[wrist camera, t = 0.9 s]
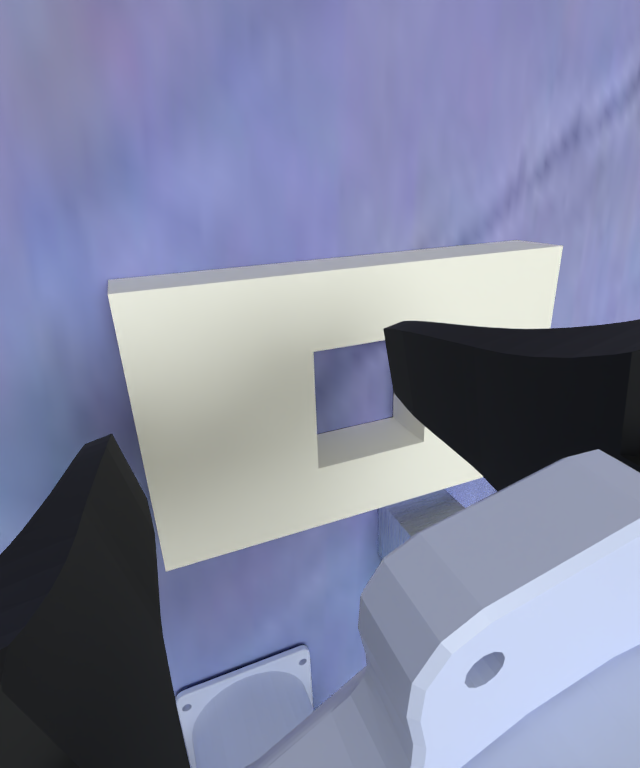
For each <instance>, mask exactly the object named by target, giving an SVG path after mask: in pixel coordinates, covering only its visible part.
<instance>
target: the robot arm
mask: <svg viewBox="0 0 640 768" xmlns="http://www.w3.org/2000/svg"><path fill="white" fill-rule="evenodd" d="M383 330H384V336H385V342H386V348H387V354H388V360H389V366H390V372H391V378H392V384H393V390H394V394H395V395H396V396H397V397H398V399H399V400H400V401H401V402H402V404H403V405H404V406H405V407H406V408H407V409H408V410H409V412H410V413H411V414H412V415H413V416H414V417H415V418H416V419H417V420H418V421H419V422H421V423H422V424H423V425H424V426H425V427H426V428H428V429H429V430H430V431H431V432H432V433H433V434H435V435H436V436H437V437H438V438H439V439H441V440H442V441H443V442H444V443H445V444H447V445H448V446H449V447H450V448H451V449H452V450H454V451H455V452H456V453H457V454H458V455H460V456H461V457H462V458H463V459H464V460H466V461H467V462H468V463H469V464H470V465H471V466H473V467H474V468H475V469H476V470H477V471H478V472H479V473H480V474H481V475H482V476H483V477H484V478H485V479H486V480H487V481H488V482H489V483H490V484H491V485H492V486H493V487H494V488H495V489H496V490H497V492H496V493H494V494H492V495H490V496H488V497H486V498H484V499H482V500H480V501H478V502H476V503H474V504H472V505H471V506H469V507H467V508H465V509H463V510H461V511H459V512H457V513H455V514H453V515H451V516H449V517H447V518H445V519H443V520H441V521H439V522H437V523H435V524H433V525H431V526H430V527H428V528H426V529H424V530H422V531H420V532H418V533H416V534H415V535H413V536H412V537H411V538H409V539H408V540H407V541H405V542H404V543H403V544H401V545H400V546H399V547H397V548H396V549H395V550H393V551H392V552H391V553H389V554H388V555H387V556H386V557H384V559H383V560H382V562H381V563H380V565H379V566H378V568H377V569H376V571H375V572H374V574H373V576H372V577H371V579H370V580H369V582H368V583H367V585H366V586H365V588H364V590H363V592H362V594H361V597H360V609H359V621H358V629H359V633H360V636H361V639H362V643H363V646H364V650H365V653H366V661H367V666H365V667H364V668H363V669H362V670H361V671H360V672H359V673H357V674H356V675H355V676H354V677H353V678H352V679H350V680H349V681H348V682H347V683H346V684H345V685H343V686H342V687H341V688H340V689H339V690H338V691H337V692H335V693H334V694H333V695H332V696H331V697H330V698H328V699H327V700H326V701H325V702H324V703H323V704H321V705H320V706H319V707H318V708H317V709H316V710H314V709H313V698H312V682H311V667H310V652H309V650H308V647H307V646H305V645H301V646H298V647H295V648H293V649H290V650H287V651H285V652H282V653H280V654H277V655H274V656H272V657H269V658H267V659H264V660H261V661H259V662H256V663H253V664H251V665H248V666H246V667H243V668H240V669H238V670H235V671H233V672H230V673H227V674H225V675H222V676H219V677H217V678H214V679H212V680H209V681H206V682H204V683H201V684H199V685H196V686H193V687H191V688H188V689H185V690H183V691H181V692H180V693H179V694H178V695H177V696H176V701H175V696H174V691H173V686H172V681H171V676H170V671H169V666H168V661H167V655H166V650H165V644H164V639H163V633H162V625H161V616H160V602H159V587H158V572H157V557H156V544H155V533H154V528H153V523H152V519H151V514H150V510H149V506H148V501H147V498H146V496H145V494H144V492H143V491H142V489H141V487H140V485H139V483H138V481H137V479H136V478H135V476H134V474H133V472H132V470H131V468H130V466H129V465H128V463H127V461H126V459H125V457H124V455H123V453H122V452H121V450H120V448H119V446H118V444H117V442H116V440H115V439H114V437H113V435H112V434H110V435H108V436H105V437H102V438H100V439H97V440H95V441H92V442H89V443H87V444H85V445H84V446H83V447H82V449H81V450H80V451H79V453H78V454H77V455H76V457H75V458H74V460H73V461H72V463H71V464H70V466H69V467H68V469H67V470H66V471H65V473H64V474H63V476H62V477H61V479H60V480H59V482H58V483H57V484H56V486H55V487H54V489H53V490H52V492H51V493H50V495H49V496H48V497H47V499H46V500H45V501H44V503H43V504H42V505H41V506H40V508H39V509H38V510H37V512H36V513H35V514H34V515H33V517H32V518H31V519H30V521H29V522H28V523H27V524H26V526H25V527H24V528H23V530H22V531H21V532H20V533H19V534H18V536H17V537H16V538H15V539H14V540H13V541H12V543H11V544H10V545H9V546H8V547H7V548H6V549H5V550H4V551H3V553H2V554H1V555H0V768H190V765H191V768H640V320H634V321H627V322H621V323H613V324H605V325H595V326H583V327H572V328H552V329H511V328H493V327H479V326H468V325H458V324H448V323H438V322H428V321H402V322H399V323H397V324H394V325H391V326H389V327H386V328H384V329H383ZM176 705H177V706H176ZM177 709H178V711H177ZM178 714H179V716H178ZM179 718H180V720H179ZM180 722H181V725H180ZM181 727H182V729H181ZM182 731H183V734H182ZM183 735H184V738H183ZM184 740H185V743H184ZM185 744H186V747H185ZM186 748H187V752H188V756H187V752H186ZM188 757H189V761H190V765H189V761H188Z"/></svg>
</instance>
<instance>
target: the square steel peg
mask: <svg viewBox="0 0 640 768" xmlns="http://www.w3.org/2000/svg"><path fill="white" fill-rule="evenodd" d="M463 509H465V508H464V507H463V506H462V505H461V504H460V503H459V502H458V501H457V500H456V499H454V498H453V497H452V496H451V495H450V494H449V493H448V492H447V491H446V490H444V489H442V490H438V491H435V492H432V493H428V494H425V495H422V496H418V497H415V498H412V499H408V500H405V501H401V502H398V503H395V504H391V505H388V506H385V507H381V508H378V554H379V555H380V556H381V558H382V559H384V557H386V556H387V555H388V554H389V553H391V552H392V551H393V550H395V549H396V548H397V547H399V546H400V545H401V544H403V543H404V542H405V541H407V540H408V539H409V538H411V537H412V536H413V535H415V534H416V533H418V532H420V531H422V530H424V529H426V528H428V527H430V526H431V525H433V524H435V523H437V522H439V521H441V520H443V519H445V518H447V517H449V516H451V515H453V514H455V513H457V512H459V511H461V510H463Z"/></svg>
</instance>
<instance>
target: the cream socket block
mask: <svg viewBox="0 0 640 768" xmlns="http://www.w3.org/2000/svg"><path fill="white" fill-rule="evenodd" d="M562 249H563V246H561V245H552V244H544V243H536V242H528V241H520V240H513V241H503V242H492V243H482V244H472V245H461V246H451V247H441V248H431V249H420V250H410V251H400V252H389V253H379V254H369V255H359V256H348V257H338V258H328V259H317V260H307V261H297V262H286V263H276V264H266V265H256V266H245V267H235V268H225V269H214V270H204V271H194V272H184V273H173V274H163V275H153V276H142V277H132V278H122V279H112V280H108V298H109V303H110V307H111V312H112V317H113V322H114V327H115V331H116V336H117V341H118V346H119V350H120V355H121V360H122V365H123V369H124V374H125V379H126V384H127V388H128V393H129V398H130V403H131V407H132V412H133V417H134V422H135V426H136V431H137V436H138V441H139V445H140V450H141V455H142V460H143V464H144V469H145V474H146V479H147V483H148V488H149V493H150V498H151V502H152V507H153V512H154V517H155V522H156V526H157V531H158V536H159V541H160V545H161V550H162V555H163V560H164V564H165V569H166V571H170V570H173V569H177V568H180V567H183V566H187V565H190V564H193V563H197V562H200V561H203V560H207V559H210V558H213V557H217V556H220V555H224V554H227V553H230V552H234V551H237V550H240V549H244V548H247V547H250V546H254V545H257V544H260V543H264V542H267V541H271V540H274V539H277V538H281V537H284V536H287V535H291V534H294V533H297V532H301V531H304V530H307V529H311V528H314V527H318V526H321V525H324V524H328V523H331V522H334V521H338V520H341V519H344V518H348V517H351V516H354V515H358V514H361V513H365V512H368V511H371V510H375V509H378V508H381V507H385V506H388V505H391V504H395V503H398V502H401V501H405V500H408V499H412V498H415V497H418V496H422V495H425V494H428V493H432V492H435V491H438V490H442V489H445V488H448V487H452V486H455V485H459V484H462V483H465V482H469V481H472V480H475V479H479V478H482V477H483V476H482V475H481V474H480V473H479V472H478V471H477V470H476V469H475V468H474V467H473V466H471V465H470V464H469V463H468V462H467V461H466V460H464V459H463V458H462V457H461V456H460V455H458V454H457V453H456V452H455V451H454V450H452V449H451V448H450V447H449V446H448V445H447V444H445V443H444V442H443V441H442V440H441V439H439V438H438V437H437V436H436V435H435V434H433V433H432V432H431V431H430V430H429V429H428V428H426V427H425V426H424V425H423V424H422V423H421V422H419V421H418V420H417V419H416V418H415V417H414V416H413V415H412V414H411V413H410V412H409V410H408V409H407V408H406V407H405V406H404V405H403V404H402V402H401V401H400V400H399V399H398V397H397V396H396V395H395V394H394V396H393V417H391V418H387V419H383V420H378V421H374V422H369V423H365V424H361V425H356V426H352V427H348V428H343V429H339V430H334V431H330V432H326V433H321V434H317V423H316V400H315V378H314V355H313V352H316V351H322V350H328V349H334V348H340V347H346V346H352V345H358V344H364V343H370V342H376V341H382V340H385V336H384V330H383V329H384V328H386V327H389V326H391V325H394V324H397V323H399V322H402V321H428V322H438V323H448V324H458V325H468V326H479V327H493V328H511V329H550V326H551V320H552V313H553V307H554V300H555V294H556V288H557V281H558V275H559V268H560V262H561V256H562Z"/></svg>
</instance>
